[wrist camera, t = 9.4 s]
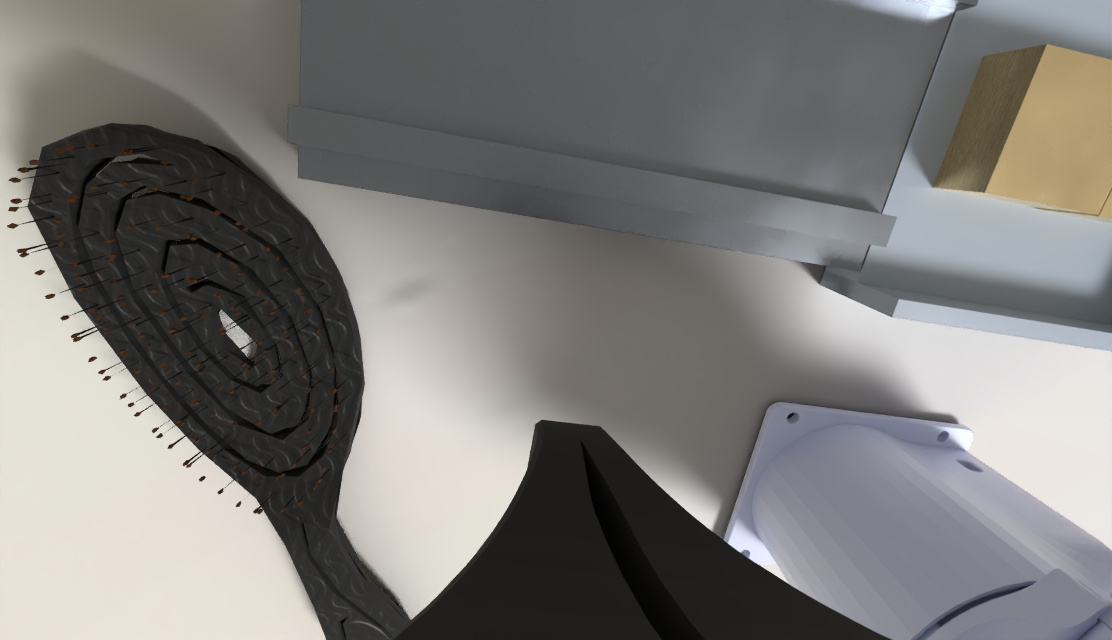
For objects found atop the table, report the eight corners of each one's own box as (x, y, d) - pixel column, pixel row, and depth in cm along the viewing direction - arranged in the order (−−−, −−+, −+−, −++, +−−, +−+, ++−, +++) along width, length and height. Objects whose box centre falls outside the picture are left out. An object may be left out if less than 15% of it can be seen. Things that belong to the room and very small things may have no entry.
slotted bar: (928, -42, 17) (1007, -77, 14) (826, 259, 20) (874, 277, 17) (333, -198, 14) (293, -276, 12) (321, 174, 17) (286, 179, 15)
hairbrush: (301, 750, 22) (-109, 169, 13) (327, 666, 26) (18, 158, 16) (486, 701, 22) (215, 89, 13) (487, 624, 26) (273, 94, 16)
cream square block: (1092, 81, 16) (1168, 73, 15) (1035, 207, 18) (1098, 214, 16) (983, 55, 16) (1047, 43, 14) (932, 187, 17) (984, 192, 15)
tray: (1231, 2, 18) (1424, -36, 14) (1068, 324, 22) (1187, 362, 18) (943, -78, 16) (1073, -144, 13) (819, 284, 20) (891, 317, 16)
